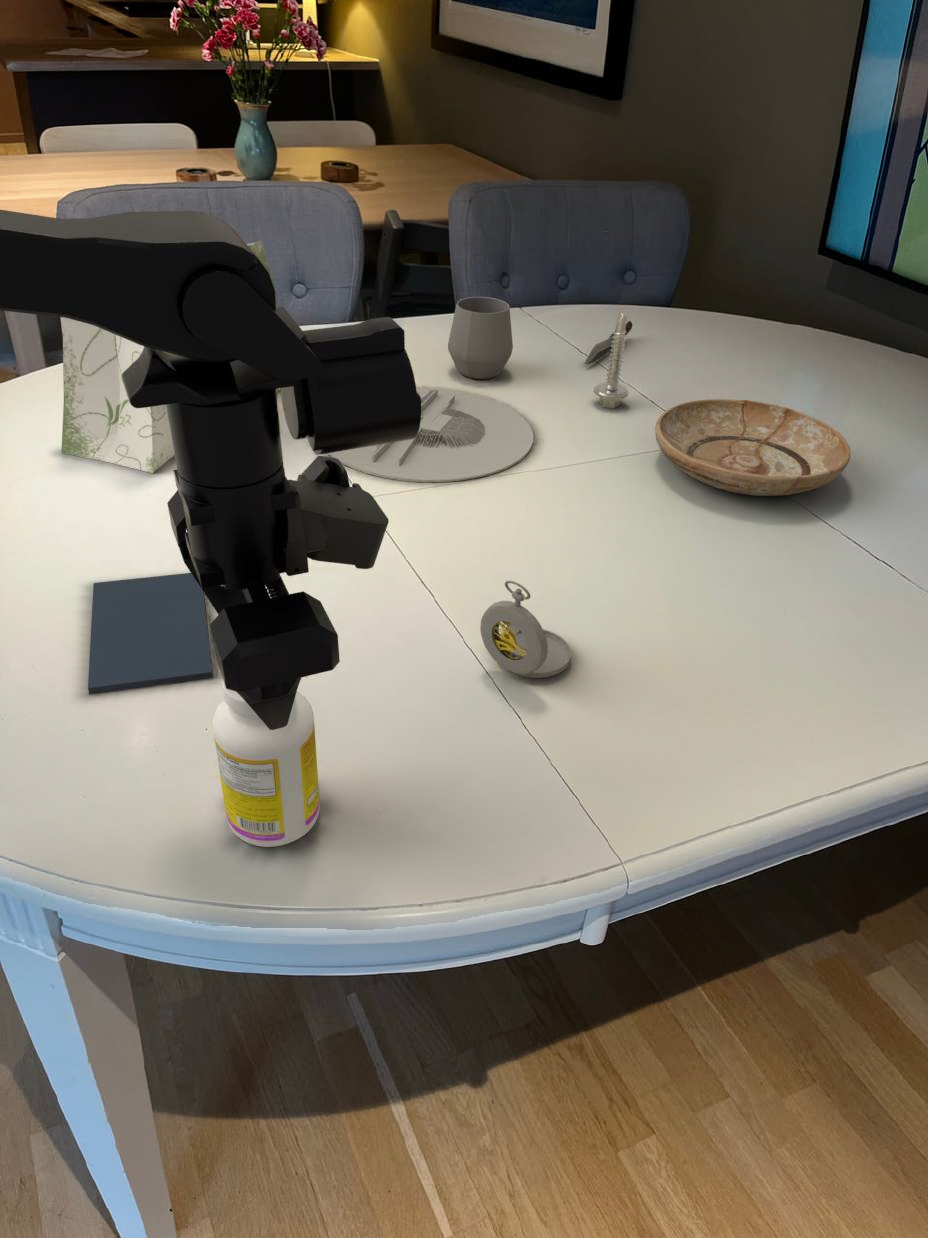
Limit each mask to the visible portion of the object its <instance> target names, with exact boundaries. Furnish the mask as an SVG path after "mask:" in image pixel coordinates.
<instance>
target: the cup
mask: <svg viewBox="0 0 928 1238" xmlns="http://www.w3.org/2000/svg"><path fill="white" fill-rule="evenodd" d="M510 307H511V306H510V305H509V304H508V302H506V301H504V300H502V299H499V298H495V297H489V296H468V297H463V298H461V299H459V300H457V302H456V304H455V309H454V314H453V318H452V324H451V327H450V333H449V337H448V342H447V349H448V353H449V355H450V357H451V359H452V361H453V364H454V366H455V368H456V370H457V371H458V373H459V374H461V375H463V376H464V377H467V378H470V379H476V380H486V379H492V378H495V377H497V376H498V375H500V374H501V373H502V371H503V370H504V368H505V366H506V365H507V363H508V361H509V360H510V358H511V356H512V353H513V349H514V343H513V331H512V330H513V329H512V318H511V309H510Z"/></svg>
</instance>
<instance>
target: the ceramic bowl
mask: <svg viewBox="0 0 928 1238" xmlns="http://www.w3.org/2000/svg"><path fill="white" fill-rule="evenodd" d="M654 432H655V434H654V435H655V440H656V443H657V445H658V447H659V450H660V451H661V452H662V453H663V455H664V456H665V457H666V459H668V461H669V462H670V463H671V464H672V465H674V466H675V467H676V468H677V469H679V470H680V471H682V472H683V473H685V474H686V475H688V476H690V477H691V478H693V479H696V480H697V481H699V482H701V483H704V484H706V485H708V486H710V487H714V488H716V489H719V490H722V491H727V492H730V493H736V494H742V495H748V496H758V497H759V496H761V497H772V496H773V497H775V496H778V497H779V496H790V495H795V494H800V493H805V492H808V491H812V490H814V489H817V488H821V487H823V486H825V485H827V484H829V483H831V482H833V481H834V480H835V479H836V478H838V476H839V475H841V474H842V473H843V471H844V470H845V469H846V468H847V467H848V464H849V462H850V460H851V447H850V445H849V443H848V442H847V440H846V439H845V438H844V436H843V435H842V434H841V433H840V432H838V431H837V430H836V429H835V428H834V427H831V426H830V425H829V424H827V423H825V422H823V421H821V420H819V419H817V418H815V417H813V416H811V415H808V414H805V413H803V412H800V411H797V410H795V409H792V408H789V407H785V406H780V405H777V404H773V403H767V402H762V401H755V400H748V399H731V398H711V399H709V398H708V399H697V400H692V401H687V402H683V403H679V404H676V405H673V406H672V407H670V408H667V410H665V411H664V412H663V413H661V415H660V416H659V417H658V418H657V420H656V424H655V431H654Z"/></svg>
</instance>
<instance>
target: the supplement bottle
mask: <svg viewBox="0 0 928 1238" xmlns="http://www.w3.org/2000/svg"><path fill="white" fill-rule="evenodd" d="M221 685H222V694H223V695H222V696H223V700H222V702H220V703H219V705H218V706H217V709H216V710H215V713H214V715H213V720H212V730H213V732H212V733H213V738H214V739H213V740H214V745H215V750H216V757H217V764H218V770H219V776H220V777H219V778H220V784H221V791H222V798H223V804H224V810H225V817H226V821H227V825H228V826H229V828H230V830H231V831H232V832H233V833H234V834H235V835H236V837H237V838H239V839H240V840H242V841H243V842H245V843H247V844H250V845H253V846H257V847H264V848H265V847H266V848H270V847H273V848H275V847H279V846H285V845H287V844H291V843H292V842H295V841H297V840H299V839H300V838H302V837H303V836H305V835H306V834H307V833H308V832H310V830H311V829H312V828H313V827H314V825H315V823H316V822H317V820H318V817H319V814H320V810H321V809H320V808H321V804H320V786H319V785H320V784H319V771H318V759H317V758H318V757H317V745H316V744H317V743H316V729H315V728H316V727H315V717H314V716H315V715H314V710H313V707H312V705H311V703H310V701H309V700H308V699H307V697H306V696H304V695H303V693H301V692H299V691H298V690H297V692H296V696H295V699H294V703H293V707H292V710H291V714H290V717H289V721H288V724H287V726H285V727H283V728H279V729H275V730H270V729H269V728H268V727H267V726H266V725H265V724H264V723H263V721H262V720H261V719H260V718H259V717H258V715H257V714H256V713H255V712H254V711H253V710H252V708H251V707H250V706H249V705H248V704H247V703H246V702H245V700H244V699H243V698H242V697H241V696H240V695H239V694H238V693H237V692H236V691H232V690H229V689H226V686H225V683H224V680H223V679H222V682H221Z"/></svg>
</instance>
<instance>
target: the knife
mask: <svg viewBox="0 0 928 1238" xmlns="http://www.w3.org/2000/svg"><path fill="white" fill-rule="evenodd" d="M632 328H633V322H632V321H631V320H628V321H626V327H625V330H626V333H625V335H626V336H627V335H628V334H629V333H630V332H631V331H632ZM613 336H614V333H613V332H612V333H611V334H610V335H609V337H608V338H607V339H605V340H603V341H600V342H598V343H596V344H595V345H594V346H593V347H592V349H591V350H590V353H589V354H588V356H587V358H586V360H585V362H583V363H584V365H590V364H593V363H595V362H597V361H598V360H600V359H601V358H603V357H605V356H606V355H607V354H609V352H611V351H610V350H611V349H612V347H611V345H612V342H611V341H613V338H612V337H613Z"/></svg>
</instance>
